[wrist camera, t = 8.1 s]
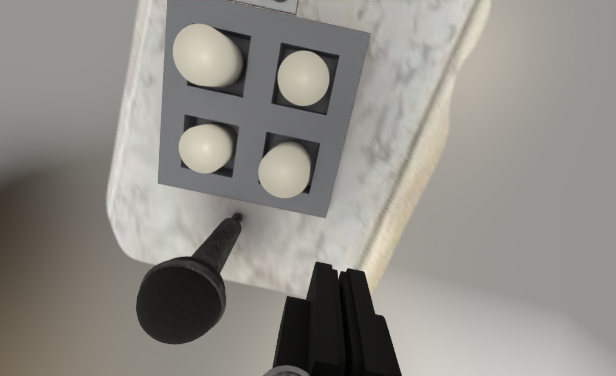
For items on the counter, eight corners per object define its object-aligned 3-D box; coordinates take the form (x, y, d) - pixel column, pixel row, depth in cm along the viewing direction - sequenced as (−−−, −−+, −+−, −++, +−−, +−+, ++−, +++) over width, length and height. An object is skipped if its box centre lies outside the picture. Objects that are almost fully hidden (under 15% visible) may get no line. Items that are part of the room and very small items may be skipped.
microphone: (241, 182, 38) (161, 268, 19) (274, 221, 40) (231, 338, 21) (202, 211, 40) (92, 319, 20) (236, 248, 41) (163, 381, 22)
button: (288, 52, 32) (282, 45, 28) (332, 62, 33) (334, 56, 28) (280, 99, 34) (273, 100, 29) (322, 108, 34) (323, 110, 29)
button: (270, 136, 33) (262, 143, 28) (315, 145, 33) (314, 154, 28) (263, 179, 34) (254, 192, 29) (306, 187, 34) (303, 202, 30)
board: (186, 1, 32) (167, -12, 28) (364, 40, 33) (370, 33, 29) (174, 174, 38) (157, 183, 34) (325, 206, 39) (325, 218, 35)
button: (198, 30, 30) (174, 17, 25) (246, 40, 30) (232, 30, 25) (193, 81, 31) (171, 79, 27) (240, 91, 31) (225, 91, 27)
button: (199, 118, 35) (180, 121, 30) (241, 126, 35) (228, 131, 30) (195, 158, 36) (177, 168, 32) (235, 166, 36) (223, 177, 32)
